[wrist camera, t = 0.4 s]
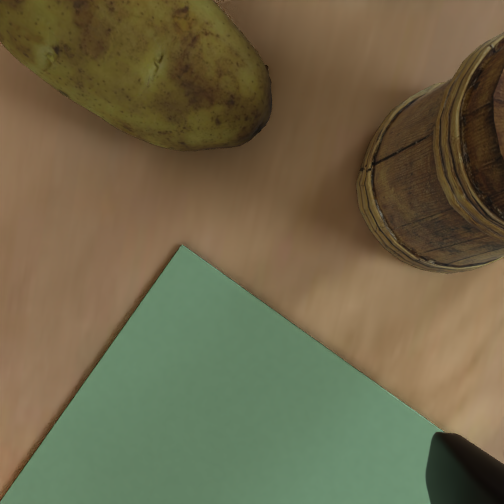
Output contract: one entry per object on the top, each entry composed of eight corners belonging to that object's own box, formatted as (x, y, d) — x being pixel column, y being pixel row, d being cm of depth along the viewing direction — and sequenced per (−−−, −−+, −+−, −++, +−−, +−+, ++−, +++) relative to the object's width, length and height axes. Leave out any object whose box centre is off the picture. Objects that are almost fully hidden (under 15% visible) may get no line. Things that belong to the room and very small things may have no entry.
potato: (170, 221, 24) (119, 204, 16) (15, 38, 24) (-113, -71, 16) (291, 117, 23) (303, 44, 15) (132, -67, 24) (63, -230, 16)
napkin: (252, 748, 23) (252, 755, 23) (-25, 537, 24) (-28, 541, 24) (469, 450, 23) (472, 452, 23) (182, 244, 24) (181, 244, 23)
